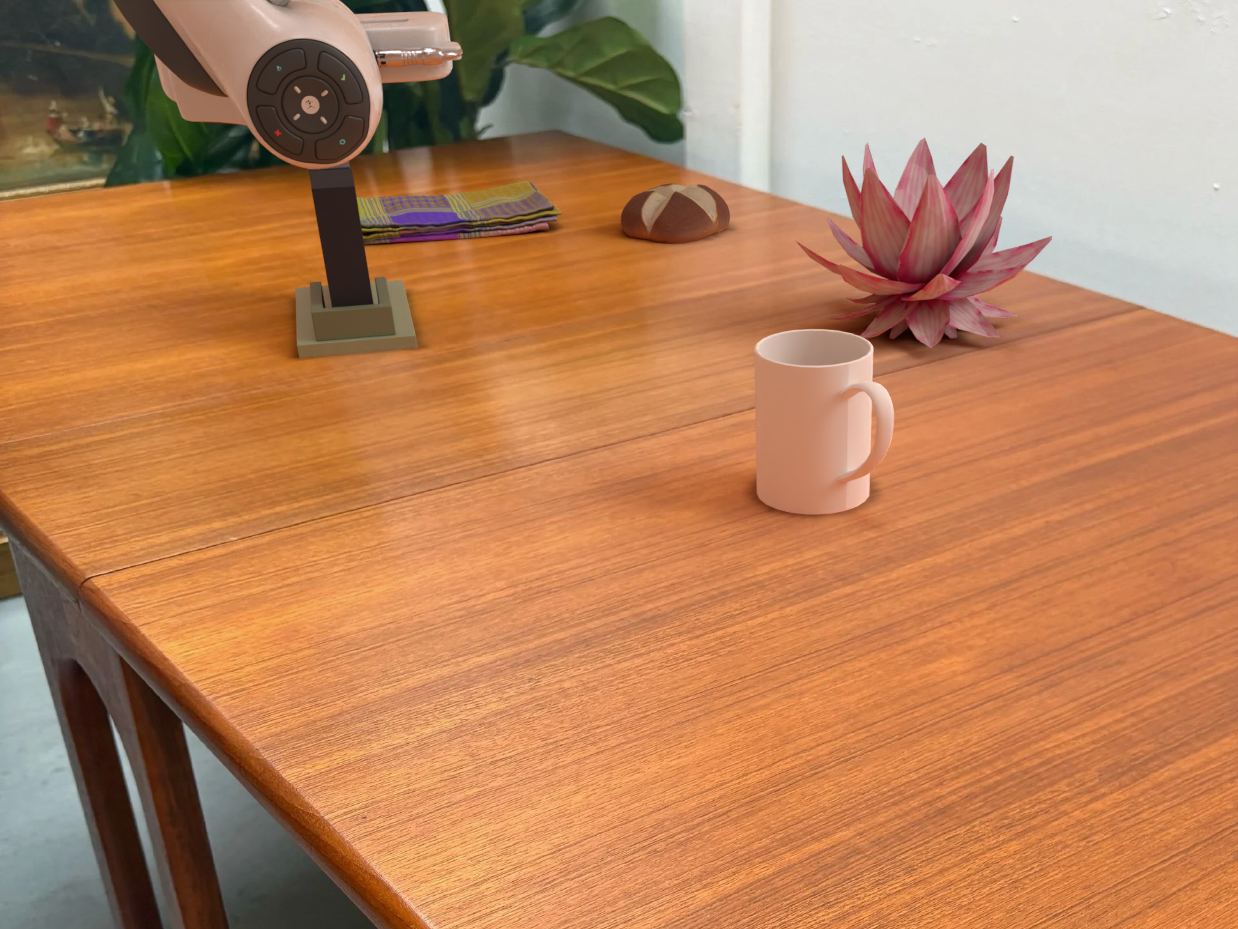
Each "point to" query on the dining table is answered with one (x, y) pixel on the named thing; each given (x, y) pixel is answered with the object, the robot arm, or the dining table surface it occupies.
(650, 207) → the bread
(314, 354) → the mount
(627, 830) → the dining table surface
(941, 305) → the decorative flower
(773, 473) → the mug
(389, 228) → the dish towel
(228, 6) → the robot arm
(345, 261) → the block
